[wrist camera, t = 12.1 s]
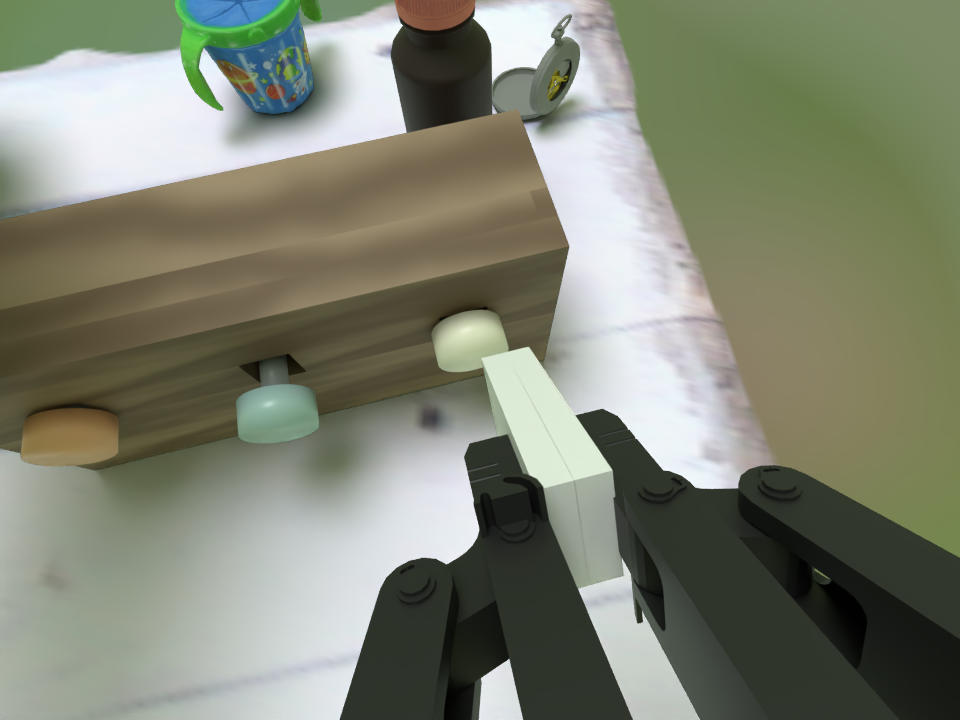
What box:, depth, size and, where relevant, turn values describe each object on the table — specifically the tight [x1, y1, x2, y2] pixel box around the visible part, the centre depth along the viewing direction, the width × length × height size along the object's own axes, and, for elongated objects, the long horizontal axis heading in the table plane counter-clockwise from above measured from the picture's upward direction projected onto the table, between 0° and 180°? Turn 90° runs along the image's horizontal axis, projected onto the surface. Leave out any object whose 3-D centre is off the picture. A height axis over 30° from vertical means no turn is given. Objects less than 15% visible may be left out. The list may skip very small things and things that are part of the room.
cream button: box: [431, 310, 509, 372], centre depth 32 cm, size 6×4×4 cm
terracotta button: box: [21, 403, 119, 466], centre depth 31 cm, size 6×4×4 cm
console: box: [0, 109, 569, 470], centre depth 35 cm, size 10×36×16 cm, turn 104°
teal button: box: [236, 354, 319, 444], centre depth 31 cm, size 6×4×4 cm
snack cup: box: [175, 0, 322, 114], centre depth 49 cm, size 16×10×10 cm
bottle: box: [391, 0, 492, 133], centre depth 39 cm, size 7×7×20 cm
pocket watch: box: [492, 14, 580, 120], centre depth 47 cm, size 8×8×10 cm
